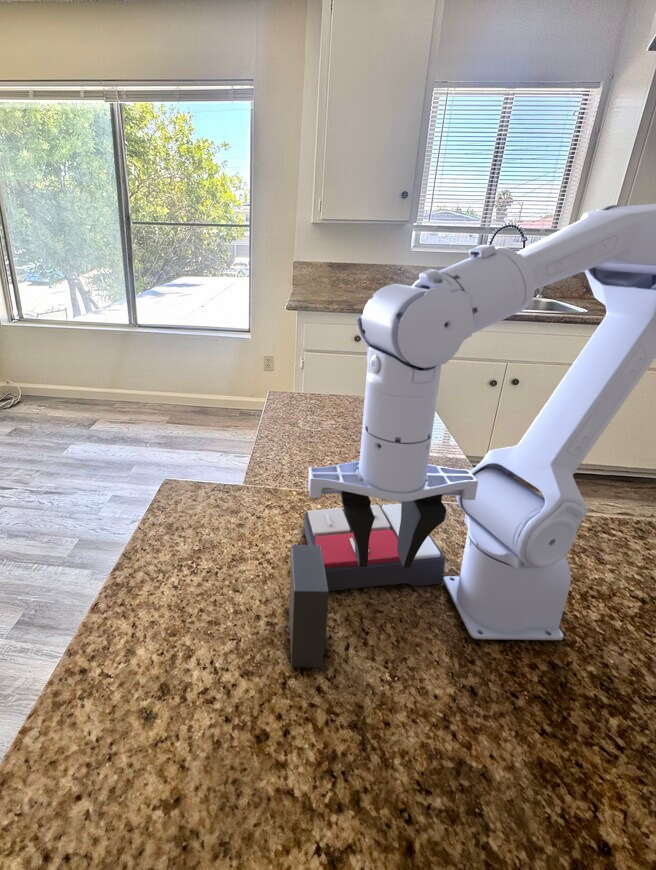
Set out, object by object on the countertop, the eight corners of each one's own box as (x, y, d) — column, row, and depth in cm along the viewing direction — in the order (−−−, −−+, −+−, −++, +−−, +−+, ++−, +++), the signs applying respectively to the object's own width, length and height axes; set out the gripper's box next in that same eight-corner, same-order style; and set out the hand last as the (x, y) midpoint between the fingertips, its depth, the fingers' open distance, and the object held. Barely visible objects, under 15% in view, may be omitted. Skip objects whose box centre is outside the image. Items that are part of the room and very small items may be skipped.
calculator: (303, 507, 57) (409, 497, 59) (303, 533, 59) (407, 523, 60) (319, 566, 47) (447, 553, 48) (319, 596, 48) (444, 583, 49)
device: (317, 613, 45) (322, 544, 43) (324, 668, 40) (329, 591, 37) (288, 613, 45) (291, 544, 43) (291, 667, 40) (294, 591, 37)
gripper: (461, 411, 40) (442, 532, 43) (308, 409, 40) (302, 530, 43) (499, 446, 33) (473, 585, 37) (315, 444, 33) (308, 583, 37)
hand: (382, 559), depth 40 cm, fingers open, 3 cm apart
